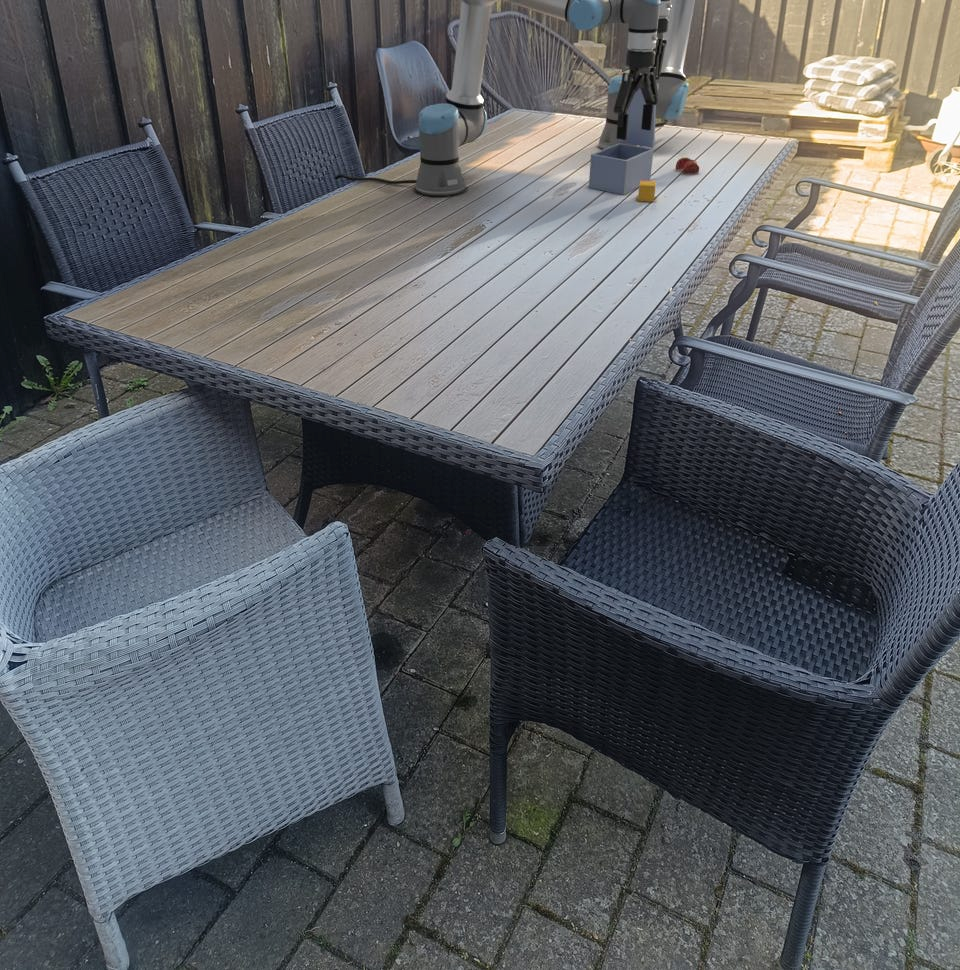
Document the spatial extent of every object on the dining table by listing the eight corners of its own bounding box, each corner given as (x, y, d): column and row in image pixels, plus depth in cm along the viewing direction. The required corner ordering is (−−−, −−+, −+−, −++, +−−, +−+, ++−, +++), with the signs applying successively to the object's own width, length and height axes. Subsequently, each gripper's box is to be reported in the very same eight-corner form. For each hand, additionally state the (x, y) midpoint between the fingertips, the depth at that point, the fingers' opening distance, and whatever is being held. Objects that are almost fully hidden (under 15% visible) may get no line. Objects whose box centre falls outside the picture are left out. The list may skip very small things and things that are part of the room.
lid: (654, 87, 247) (669, 76, 251) (618, 82, 253) (632, 72, 257) (653, 148, 259) (666, 136, 264) (618, 142, 265) (632, 131, 270)
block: (653, 202, 249) (655, 185, 246) (637, 200, 249) (639, 184, 247) (654, 197, 252) (656, 181, 250) (638, 196, 253) (640, 180, 250)
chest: (623, 194, 254) (626, 161, 249) (588, 187, 260) (590, 154, 255) (650, 181, 266) (653, 149, 260) (615, 175, 272) (618, 143, 266)
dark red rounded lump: (690, 153, 276) (701, 160, 269) (689, 167, 278) (700, 174, 272) (674, 155, 275) (685, 162, 268) (673, 169, 277) (684, 175, 271)
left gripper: (629, 57, 213) (622, 145, 225) (676, 44, 229) (667, 127, 241) (604, 54, 217) (598, 141, 229) (651, 42, 233) (644, 124, 245)
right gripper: (655, 20, 238) (646, 109, 252) (679, 14, 248) (669, 100, 262) (632, 18, 242) (624, 106, 256) (656, 12, 252) (647, 97, 266)
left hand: (633, 134), depth 235 cm, fingers open, 13 cm apart
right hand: (646, 103), depth 259 cm, fingers closed on lid, 2 cm apart
